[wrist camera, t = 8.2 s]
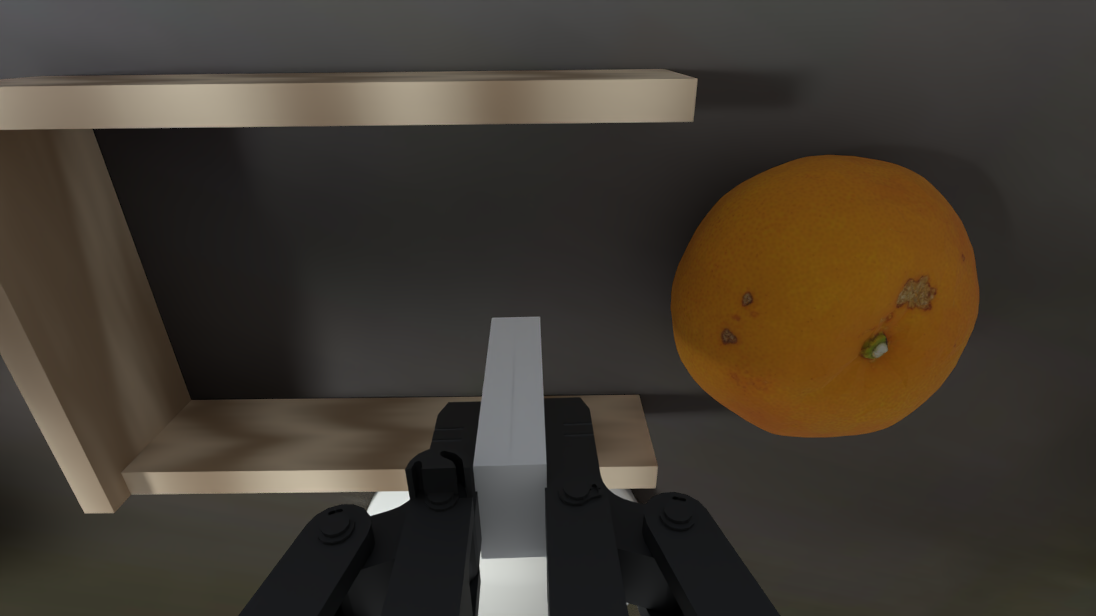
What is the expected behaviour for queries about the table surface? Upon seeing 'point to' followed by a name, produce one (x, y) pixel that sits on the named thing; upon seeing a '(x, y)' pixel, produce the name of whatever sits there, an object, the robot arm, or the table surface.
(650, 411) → the table surface
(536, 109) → the oak open frame
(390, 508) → the plate
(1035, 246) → the table surface
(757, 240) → the fruit
